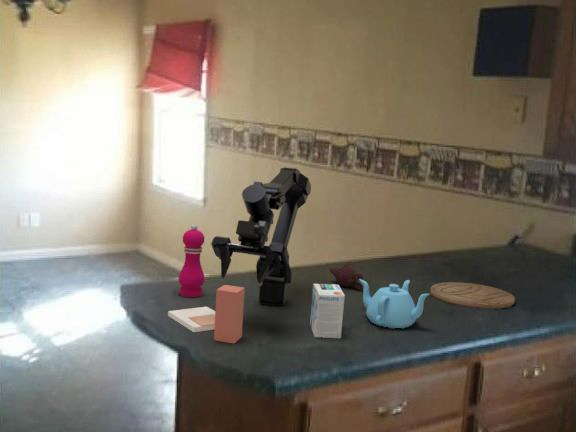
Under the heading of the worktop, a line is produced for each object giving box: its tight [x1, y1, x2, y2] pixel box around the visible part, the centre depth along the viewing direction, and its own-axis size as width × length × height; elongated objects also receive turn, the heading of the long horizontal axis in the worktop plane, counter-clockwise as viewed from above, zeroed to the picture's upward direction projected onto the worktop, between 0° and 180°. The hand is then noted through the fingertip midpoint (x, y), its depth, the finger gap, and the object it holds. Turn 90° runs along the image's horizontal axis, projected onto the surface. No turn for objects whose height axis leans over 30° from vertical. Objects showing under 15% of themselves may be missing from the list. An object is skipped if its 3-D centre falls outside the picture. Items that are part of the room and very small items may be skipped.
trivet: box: [429, 281, 516, 308], centre depth 222 cm, size 25×25×2 cm
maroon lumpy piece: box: [328, 264, 364, 292], centre depth 224 cm, size 7×7×15 cm
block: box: [213, 284, 246, 344], centre depth 168 cm, size 5×5×12 cm
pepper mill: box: [178, 223, 205, 298], centre depth 202 cm, size 7×7×20 cm
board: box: [167, 306, 215, 333], centre depth 180 cm, size 14×11×1 cm
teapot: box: [358, 279, 430, 329], centre depth 190 cm, size 15×15×10 cm
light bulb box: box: [309, 283, 346, 339], centre depth 179 cm, size 11×7×11 cm, turn 5°
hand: (240, 279), depth 173 cm, fingers open, 9 cm apart
